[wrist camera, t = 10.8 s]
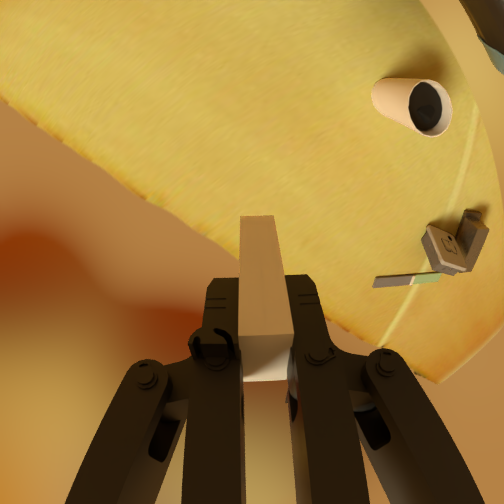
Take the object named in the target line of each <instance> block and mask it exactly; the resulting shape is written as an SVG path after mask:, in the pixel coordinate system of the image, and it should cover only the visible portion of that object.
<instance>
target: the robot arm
mask: <svg viewBox="0 0 504 504" xmlns="http://www.w3.org/2000/svg"><path fill="white" fill-rule="evenodd" d="M459 1H460V3H461V4H462V6H463V8H464V9H465V11H466V13H467V15H468V16H469V18H470V20H471V22H472V24H473V26H474V28H475V30H476V33H477V36H478V38H479V40H480V41H481V42H482V43H483V45H484V47H485V49H486V51H487V53H488V55H489V57H490V60H491V62H492V63H493V65H494V66H495V67H496V69H498V71H500V72H501V73H502V74H504V0H459ZM204 308H205V309H204V314H203V322H202V327H201V328H199V329H197V330H196V331H195V332H194V333H193V334H192V335H191V336H190V339H189V341H188V346H189V349H190V352H191V355H192V356H190V357H189V358H187V359H186V360H183V361H180V362H177V363H172V364H168V365H164V366H163V365H162V364H161V363H160V362H158V361H156V360H150V359H145V360H141V361H138V362H137V363H135V364H133V365H132V366H131V367H130V368H129V370H128V371H127V373H126V375H125V377H124V378H123V380H122V382H121V384H120V386H119V388H118V390H117V392H116V394H115V396H114V397H113V400H112V401H111V404H110V406H109V407H108V409H107V411H106V413H105V415H104V418H103V419H102V421H101V423H100V425H99V428H98V430H97V432H96V434H95V436H94V438H93V440H92V442H91V444H90V446H89V449H88V451H87V453H86V455H85V457H84V460H83V462H82V464H81V466H80V469H79V471H78V473H77V475H76V478H75V480H74V482H73V485H72V487H71V490H70V492H69V494H68V497H67V499H66V502H65V504H155V501H156V498H157V496H158V493H159V491H160V488H161V485H162V483H163V480H164V477H165V475H166V472H167V469H168V467H169V464H170V461H171V458H172V456H173V453H174V450H175V447H176V445H177V442H178V440H179V437H180V434H181V432H182V429H183V427H184V424H185V421H186V419H187V425H186V437H185V449H184V465H183V479H182V501H181V504H246V482H245V481H246V480H245V437H244V436H245V431H244V393H243V381H271V380H286V378H288V391H287V396H286V403H288V408H289V418H290V429H291V440H292V451H293V463H294V475H295V488H296V501H297V504H370V501H369V493H368V487H367V480H366V474H365V468H364V462H363V456H362V451H361V446H360V441H361V443H362V445H363V447H364V449H365V451H366V453H367V456H368V458H369V460H370V462H371V464H372V466H373V468H374V470H375V472H376V474H377V476H378V478H379V481H380V483H381V485H382V487H383V489H384V491H385V492H386V495H387V497H388V499H389V501H390V504H485V503H484V501H483V498H482V496H481V494H480V492H479V490H478V488H477V485H476V483H475V481H474V480H473V477H472V475H471V473H470V471H469V469H468V467H467V465H466V463H465V461H464V459H463V457H462V456H461V454H460V452H459V450H458V448H457V446H456V445H455V443H454V441H453V439H452V437H451V435H450V434H449V432H448V430H447V429H446V427H445V425H444V423H443V422H442V420H441V418H440V416H439V415H438V413H437V411H436V410H435V408H434V406H433V405H432V403H431V402H430V400H429V398H428V397H427V395H426V394H425V392H424V391H423V389H422V387H421V386H420V384H419V382H418V381H417V379H416V378H415V376H414V375H413V373H412V372H411V370H410V368H409V367H408V365H407V364H406V362H405V361H404V359H403V358H402V357H401V356H400V355H399V354H398V353H397V352H395V351H393V350H391V349H385V348H382V349H377V350H375V351H373V352H372V353H370V355H369V356H363V355H356V354H351V353H347V352H344V351H342V350H340V349H339V348H338V347H337V346H335V345H334V343H333V342H332V341H331V339H330V336H329V333H328V329H327V326H326V322H325V318H324V314H323V310H322V307H321V304H320V299H319V296H318V292H317V289H316V285H315V283H314V282H313V281H312V279H311V278H310V277H309V276H308V275H307V274H304V275H284V270H283V264H282V259H281V253H280V248H279V242H278V237H277V231H276V226H275V221H274V216H240V256H239V278H214V279H213V280H212V282H211V283H210V285H209V286H208V287H207V292H206V301H205V307H204ZM359 439H360V440H359Z"/></svg>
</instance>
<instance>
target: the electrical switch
mask: <svg viewBox="0 0 504 504" xmlns="http://www.w3.org/2000/svg"><path fill="white" fill-rule="evenodd" d="M426 230H427V233H426V234H425V235H424V237H423V238H422V239H421V241H422V244H423V246H424V249H425V251H426V254H427V257H428V259H429V262H430V265H431V267H432V269H433V270H434V271H437V272H441V273H445V274H448V275H452V276H454V275H455V274H456V273H457V272H459V271H460V270H461V271H465V270H466V269H467V266H466V263H465V261H464V258H463V256H462V254H461V251H460V249H459V247H458V245H457V243H456V240H455V238H454V236H453V235H452V234H450V233H448V232H445V231H443V230H441V229H438V228H436V227H433V226H431V225H428V226H427V227H426ZM450 269H451V270H450Z"/></svg>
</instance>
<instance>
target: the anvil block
mask: <svg viewBox="0 0 504 504" xmlns="http://www.w3.org/2000/svg"><path fill="white" fill-rule="evenodd" d="M480 217H481V213H480V212H476V211H465V210H464V213H463V217H462V220H461V222H460V225H459V228H458V231H457V234H456V236H455V240H456V243H457V245H458V247H459V249H460V251H461V254H462V256H463V258H464V261H465V263H466V266H467V269H466V270H465V271H461V270H460V271H459V273H463V272H471V271H472V269H473V267H474V265H475V263H476V260H477V258H478V256H479V254H480V251H481V249H482V247H483V244H484V242H485V240H486V237H487V235H488V232H489V228H487V227H486V226H485V225H484V224H483V223H482V222H481V221H480Z"/></svg>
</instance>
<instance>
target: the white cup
mask: <svg viewBox="0 0 504 504" xmlns="http://www.w3.org/2000/svg"><path fill="white" fill-rule="evenodd" d="M371 98H372V102H373V105H374V107H375V108H376V109H377V111H378V112H379V113H381V114H382V115H384V116H386V117H388V118H390V119H392V120H394V121H396V122H398V123H400V124H402V125H404V126H406V127H408V128H410V129H412V130H414V131H416V132H418V133H419V134H421V135H423V136H427V137H431V138H432V137H436V136H440V135H441V134H442V133H443V132H445V131H446V130H447V128H448V126H449V124H450V122H451V118H452V111H453V110H452V104H451V99H450V97H449V95H448V93H447V91H446V90H445V89H444V88H443V87H442V86H441V85H440V84H439V83H438V82H435V81H432V80H430V79H413V78H384V79H380V80H379V81H378V82H376V83H375V85H374V87H373V89H372V95H371Z"/></svg>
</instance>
